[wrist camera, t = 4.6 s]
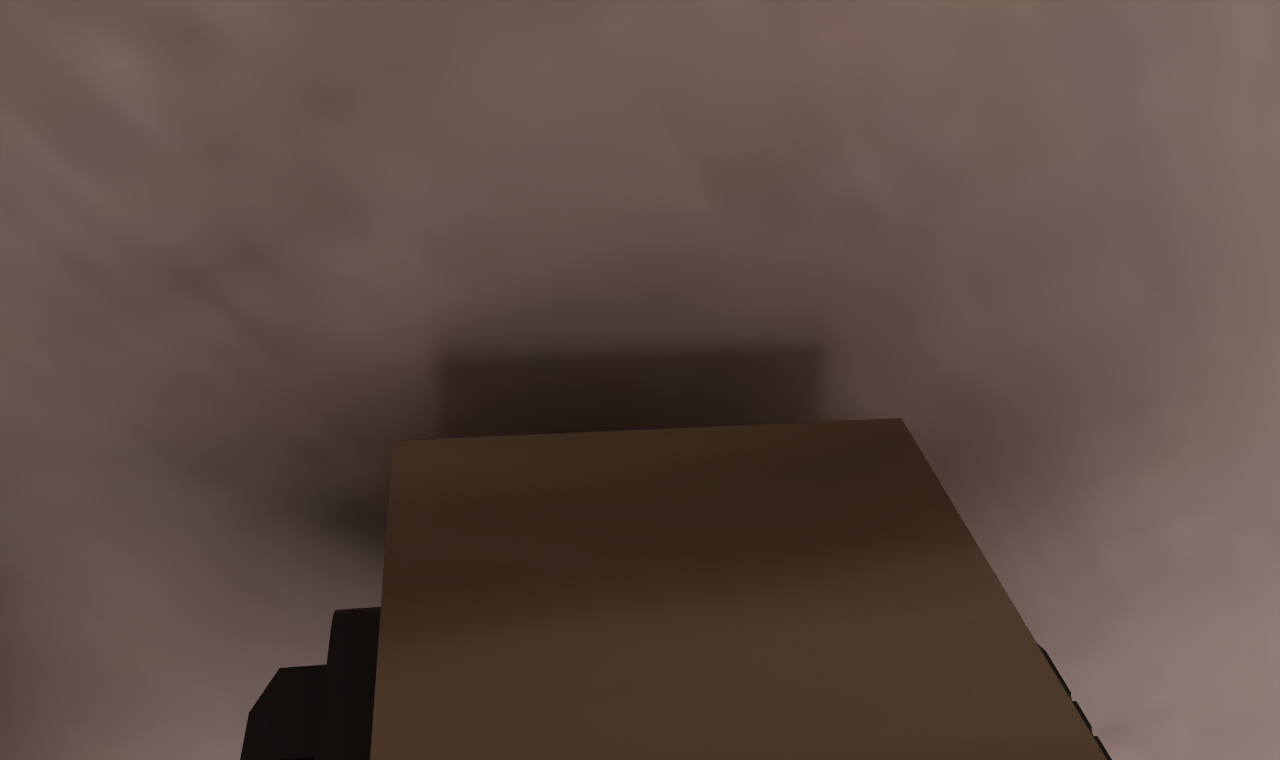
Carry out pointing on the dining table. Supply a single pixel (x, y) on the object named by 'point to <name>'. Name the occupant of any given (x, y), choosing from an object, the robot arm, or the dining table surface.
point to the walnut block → (699, 604)
